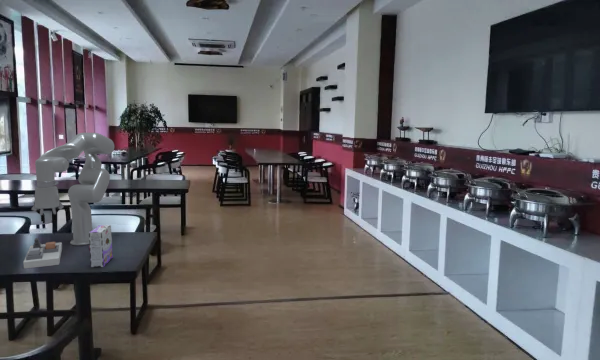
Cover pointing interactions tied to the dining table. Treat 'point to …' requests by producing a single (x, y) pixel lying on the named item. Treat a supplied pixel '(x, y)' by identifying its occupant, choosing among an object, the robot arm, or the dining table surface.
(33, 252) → the grey button
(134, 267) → the dining table surface
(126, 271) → the dining table surface
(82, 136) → the robot arm
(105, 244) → the candy box
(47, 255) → the panel
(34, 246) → the dark slider
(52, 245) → the terracotta button
